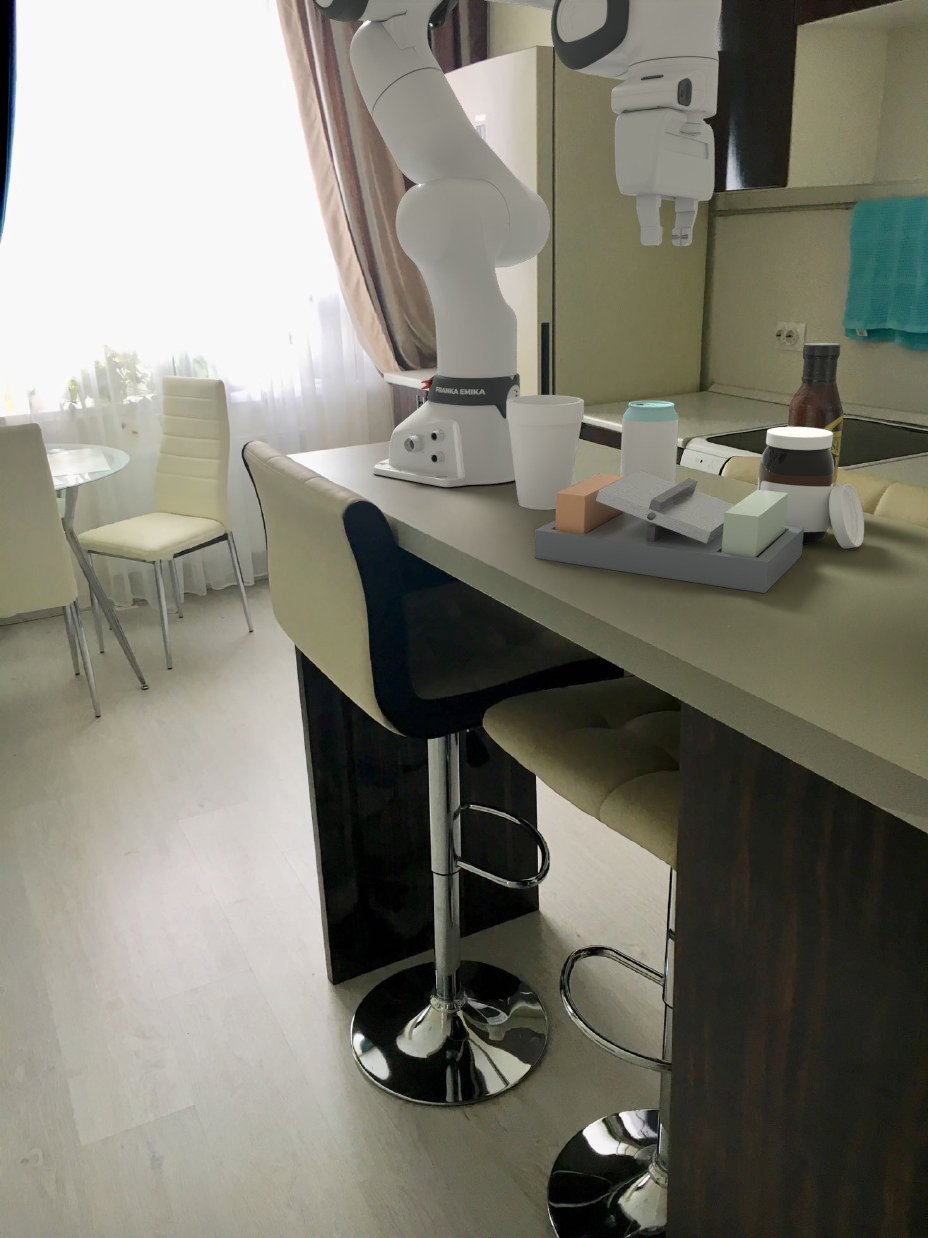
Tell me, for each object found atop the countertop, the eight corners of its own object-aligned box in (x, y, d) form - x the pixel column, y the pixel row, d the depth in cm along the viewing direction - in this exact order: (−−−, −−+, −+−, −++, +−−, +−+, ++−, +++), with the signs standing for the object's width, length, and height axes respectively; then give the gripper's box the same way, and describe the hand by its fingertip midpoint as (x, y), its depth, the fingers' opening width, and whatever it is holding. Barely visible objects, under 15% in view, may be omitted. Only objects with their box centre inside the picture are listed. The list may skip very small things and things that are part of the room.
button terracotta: (555, 530, 105) (556, 492, 104) (598, 508, 114) (599, 473, 112) (583, 534, 103) (584, 496, 102) (624, 511, 112) (626, 475, 111)
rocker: (594, 501, 101) (600, 480, 100) (637, 479, 111) (643, 460, 110) (705, 544, 97) (712, 523, 96) (740, 517, 106) (747, 498, 105)
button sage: (721, 553, 96) (724, 512, 95) (753, 527, 105) (756, 489, 104) (754, 557, 95) (758, 516, 94) (784, 531, 104) (788, 492, 102)
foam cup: (525, 515, 122) (526, 407, 118) (494, 499, 130) (494, 397, 126) (594, 507, 126) (597, 402, 121) (560, 492, 134) (562, 393, 129)
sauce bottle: (836, 520, 119) (856, 346, 112) (781, 517, 120) (798, 345, 113) (828, 506, 125) (847, 341, 118) (776, 505, 126) (792, 340, 119)
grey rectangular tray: (534, 557, 106) (535, 516, 104) (589, 527, 117) (591, 489, 115) (764, 593, 94) (769, 546, 92) (801, 555, 105) (805, 513, 104)
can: (616, 501, 129) (620, 406, 125) (621, 489, 135) (625, 398, 131) (672, 503, 127) (678, 407, 123) (675, 491, 134) (680, 399, 130)
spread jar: (749, 523, 118) (758, 423, 114) (850, 527, 116) (863, 425, 112) (759, 552, 107) (770, 442, 103) (871, 556, 105) (886, 444, 101)
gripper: (675, 113, 111) (671, 246, 115) (603, 88, 94) (601, 246, 99) (732, 106, 108) (725, 244, 112) (668, 80, 91) (663, 243, 96)
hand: (667, 245), depth 105 cm, fingers open, 8 cm apart
